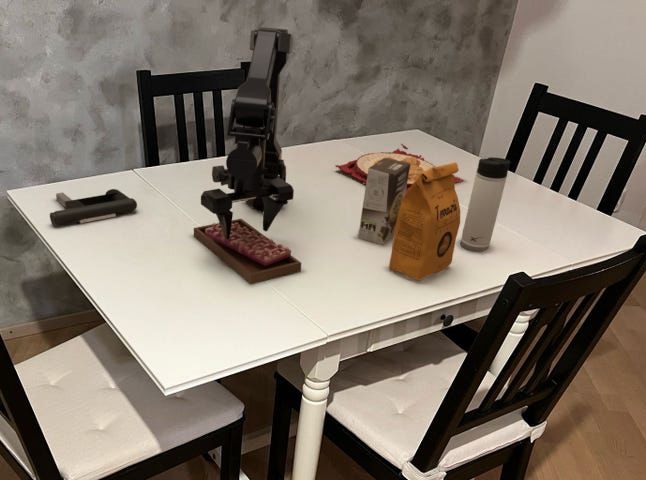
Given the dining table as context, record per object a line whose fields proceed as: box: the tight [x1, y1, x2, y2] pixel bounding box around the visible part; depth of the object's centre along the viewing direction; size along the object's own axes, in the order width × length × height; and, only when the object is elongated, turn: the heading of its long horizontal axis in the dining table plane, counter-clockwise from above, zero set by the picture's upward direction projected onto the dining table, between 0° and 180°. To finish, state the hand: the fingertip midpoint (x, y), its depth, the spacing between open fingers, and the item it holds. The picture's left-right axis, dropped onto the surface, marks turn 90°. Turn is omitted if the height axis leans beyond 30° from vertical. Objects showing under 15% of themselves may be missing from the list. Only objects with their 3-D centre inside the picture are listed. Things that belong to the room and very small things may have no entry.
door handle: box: [49, 188, 138, 226], centre depth 170 cm, size 3×20×16 cm
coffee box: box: [357, 158, 411, 246], centre depth 163 cm, size 9×6×16 cm
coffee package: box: [388, 162, 461, 281], centre depth 148 cm, size 10×12×22 cm
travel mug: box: [459, 156, 511, 253], centre depth 159 cm, size 6×7×20 cm
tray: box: [193, 218, 302, 285], centre depth 156 cm, size 12×24×2 cm, turn 32°
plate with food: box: [334, 143, 464, 194], centre depth 198 cm, size 24×26×3 cm
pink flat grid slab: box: [205, 221, 292, 266], centre depth 155 cm, size 7×19×2 cm, turn 44°
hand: (246, 234), depth 154 cm, fingers open, 9 cm apart
